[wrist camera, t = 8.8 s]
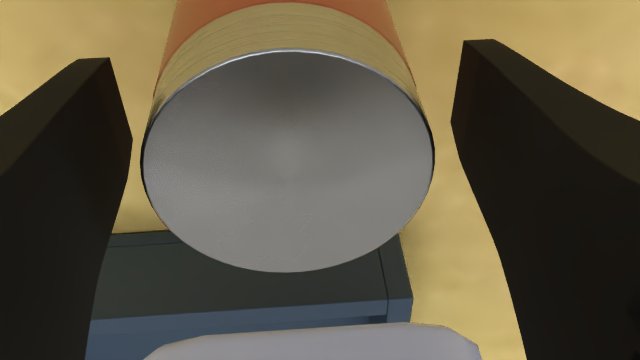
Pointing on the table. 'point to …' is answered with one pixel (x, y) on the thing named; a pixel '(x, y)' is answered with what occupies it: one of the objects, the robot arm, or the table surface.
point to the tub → (231, 295)
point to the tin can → (285, 132)
